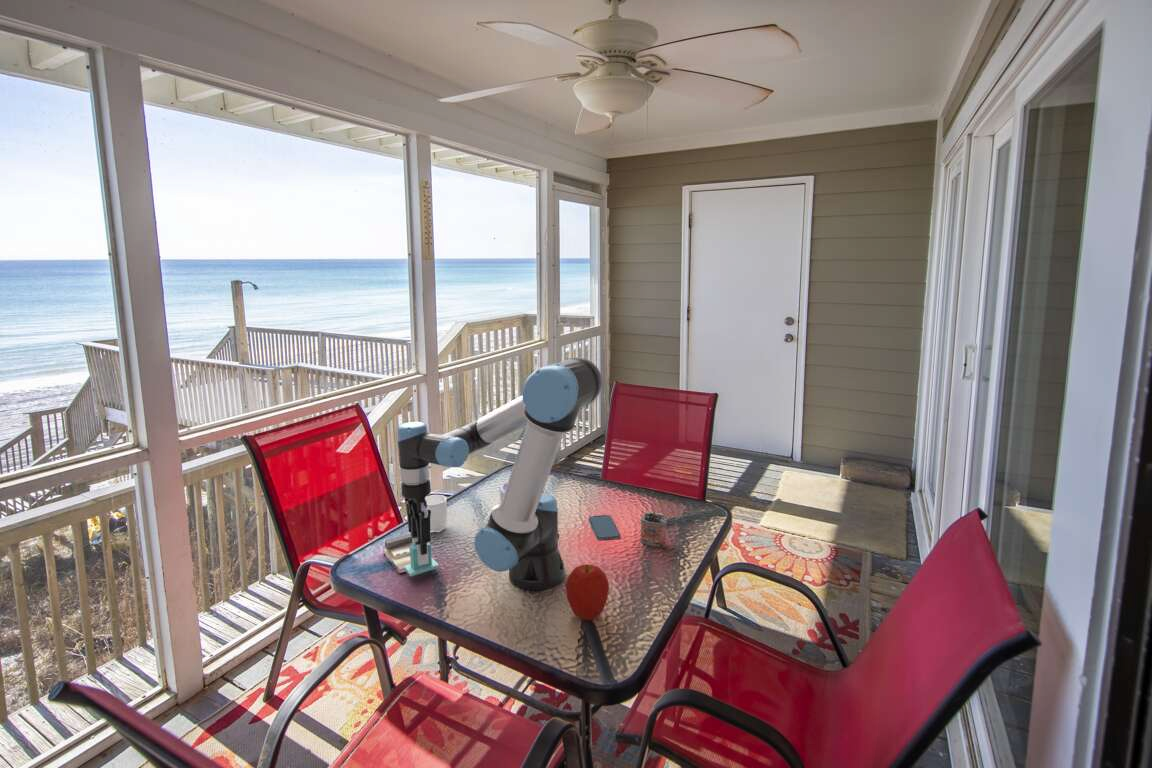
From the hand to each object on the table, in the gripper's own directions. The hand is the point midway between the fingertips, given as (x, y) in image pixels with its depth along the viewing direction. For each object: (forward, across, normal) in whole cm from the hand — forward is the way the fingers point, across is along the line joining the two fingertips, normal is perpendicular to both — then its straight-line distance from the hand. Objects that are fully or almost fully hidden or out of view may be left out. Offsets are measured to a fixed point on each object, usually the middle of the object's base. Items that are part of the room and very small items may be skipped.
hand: (421, 561), depth 161 cm
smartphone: (+5, -8, -57) cm, 58 cm away
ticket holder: (+4, +10, 0) cm, 11 cm away
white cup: (+4, +25, -14) cm, 29 cm away
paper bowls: (+4, +23, -45) cm, 50 cm away
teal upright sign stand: (+2, 0, 0) cm, 2 cm away
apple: (+4, -42, -25) cm, 49 cm away
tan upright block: (+4, -24, -63) cm, 68 cm away
